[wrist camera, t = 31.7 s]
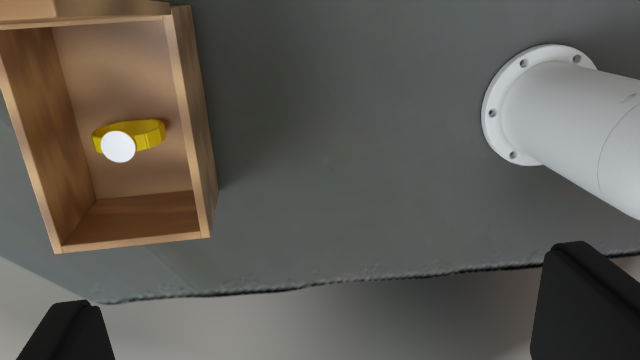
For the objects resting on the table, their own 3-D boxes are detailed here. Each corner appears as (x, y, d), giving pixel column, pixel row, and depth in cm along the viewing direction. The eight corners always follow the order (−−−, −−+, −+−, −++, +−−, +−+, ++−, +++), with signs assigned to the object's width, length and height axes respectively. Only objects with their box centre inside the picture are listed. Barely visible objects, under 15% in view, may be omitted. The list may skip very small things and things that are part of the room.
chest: (219, 191, 47) (210, 237, 38) (93, 203, 46) (54, 254, 37) (190, 4, 40) (171, 8, 31) (42, 13, 39) (-22, 20, 30)
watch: (167, 109, 42) (154, 126, 37) (173, 137, 44) (161, 158, 38) (100, 115, 42) (77, 134, 36) (108, 144, 43) (86, 166, 38)
